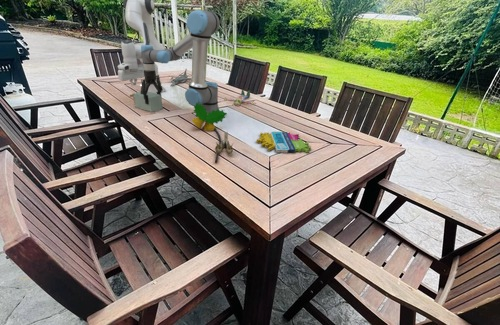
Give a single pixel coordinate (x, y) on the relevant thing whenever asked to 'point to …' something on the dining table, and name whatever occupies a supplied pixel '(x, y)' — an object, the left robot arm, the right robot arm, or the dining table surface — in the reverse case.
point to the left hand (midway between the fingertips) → (134, 85)
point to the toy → (241, 99)
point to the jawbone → (224, 145)
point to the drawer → (133, 97)
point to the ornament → (207, 117)
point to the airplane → (180, 78)
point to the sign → (283, 142)
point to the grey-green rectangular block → (153, 99)
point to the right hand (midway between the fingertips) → (153, 102)
